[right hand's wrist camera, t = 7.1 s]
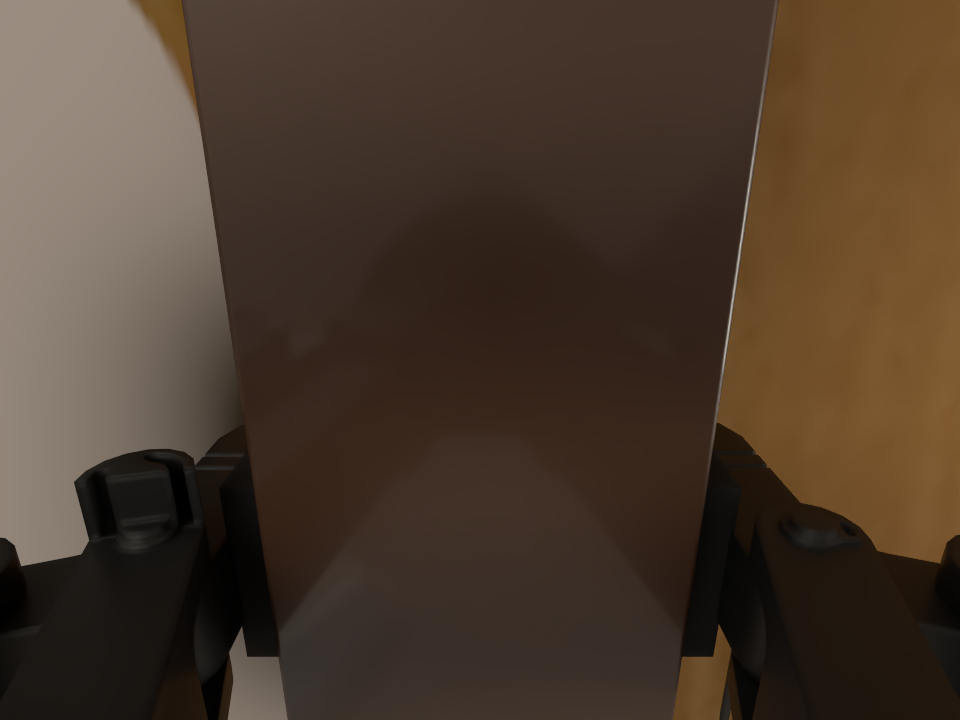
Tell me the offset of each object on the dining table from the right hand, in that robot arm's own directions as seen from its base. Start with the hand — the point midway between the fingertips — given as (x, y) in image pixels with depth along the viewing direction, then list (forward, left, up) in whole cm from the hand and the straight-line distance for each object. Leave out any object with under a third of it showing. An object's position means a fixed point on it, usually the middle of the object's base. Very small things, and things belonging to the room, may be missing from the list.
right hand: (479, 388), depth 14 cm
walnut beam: (-10, 0, -1) cm, 10 cm away
